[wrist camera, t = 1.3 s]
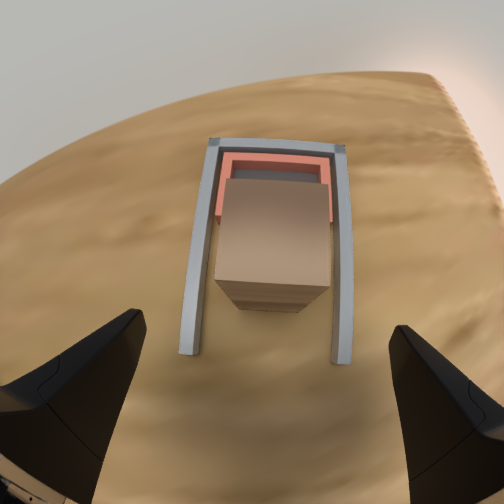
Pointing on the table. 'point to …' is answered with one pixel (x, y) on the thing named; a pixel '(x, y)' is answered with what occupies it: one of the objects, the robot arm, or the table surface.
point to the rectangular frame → (273, 171)
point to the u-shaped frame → (204, 228)
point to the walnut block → (273, 244)
